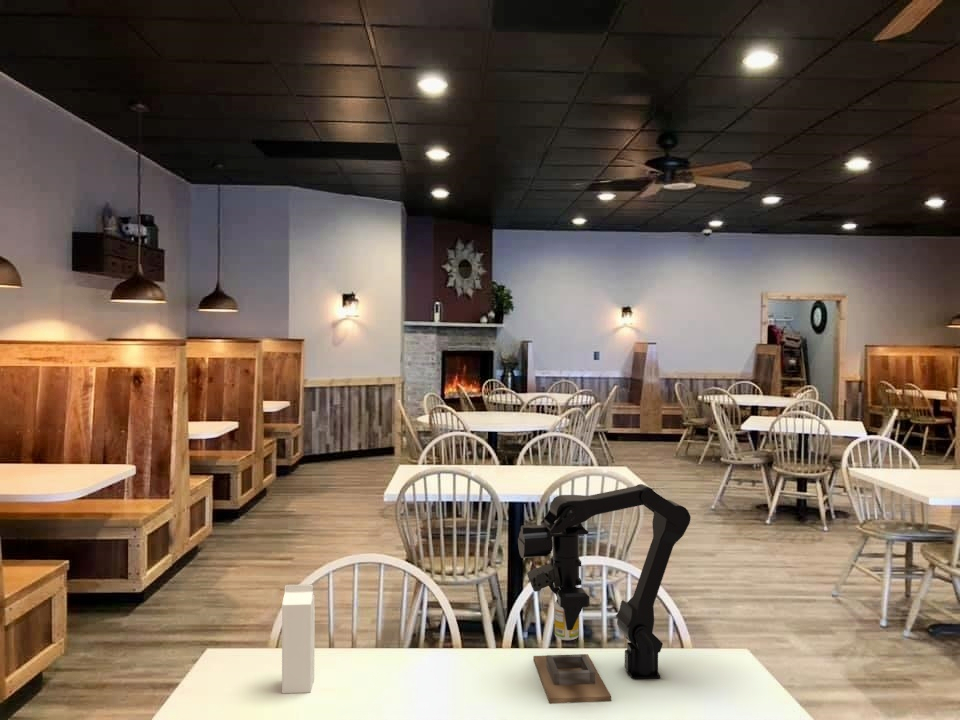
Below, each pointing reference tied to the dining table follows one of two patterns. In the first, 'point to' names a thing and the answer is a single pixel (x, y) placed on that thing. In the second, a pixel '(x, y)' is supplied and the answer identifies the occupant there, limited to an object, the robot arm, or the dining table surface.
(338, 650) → the dining table surface
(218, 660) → the dining table surface
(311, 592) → the milk
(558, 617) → the supplement bottle
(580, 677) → the can holder
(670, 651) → the dining table surface
